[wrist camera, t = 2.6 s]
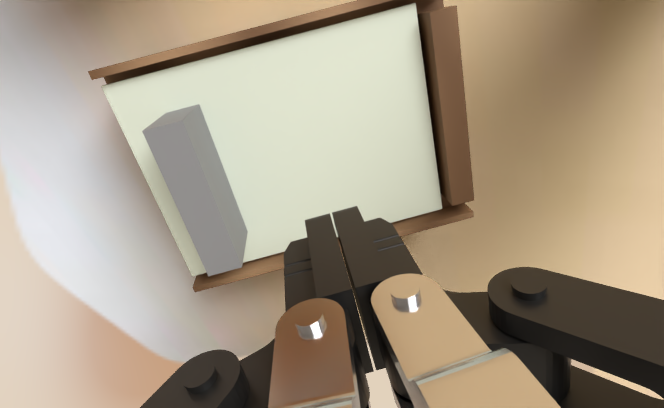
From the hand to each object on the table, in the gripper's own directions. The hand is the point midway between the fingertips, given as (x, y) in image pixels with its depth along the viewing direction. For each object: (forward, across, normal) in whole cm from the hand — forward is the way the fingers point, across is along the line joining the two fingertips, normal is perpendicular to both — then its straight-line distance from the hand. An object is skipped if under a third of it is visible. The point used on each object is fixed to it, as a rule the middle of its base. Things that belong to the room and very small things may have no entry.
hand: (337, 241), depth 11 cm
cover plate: (+10, +1, 0) cm, 10 cm away
